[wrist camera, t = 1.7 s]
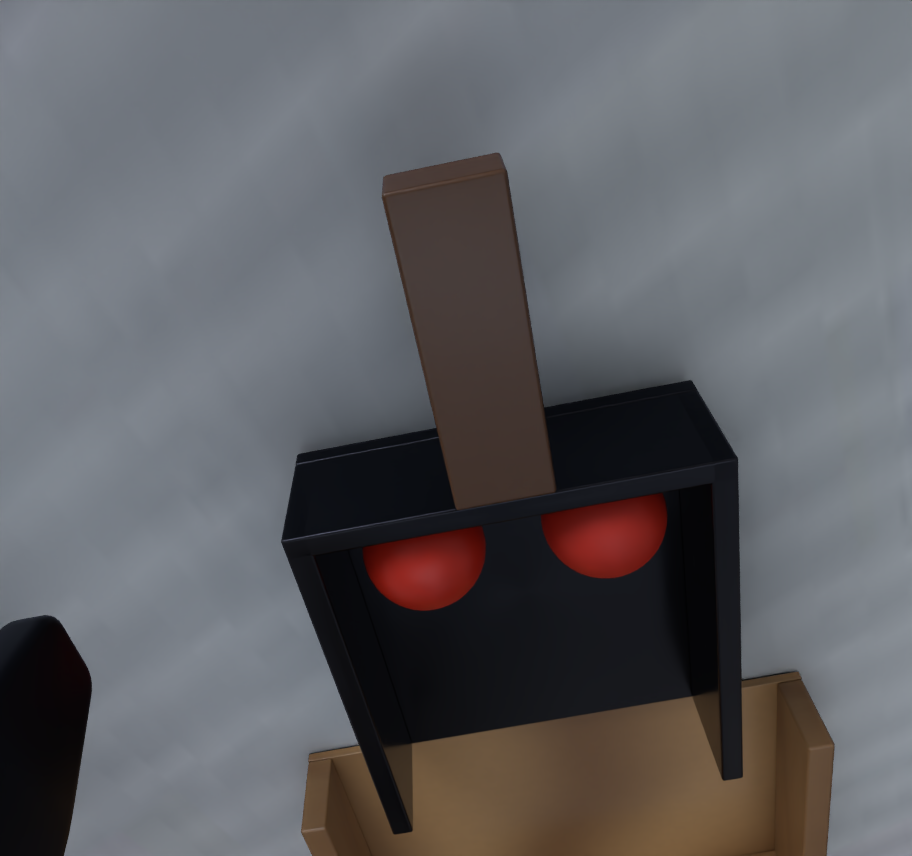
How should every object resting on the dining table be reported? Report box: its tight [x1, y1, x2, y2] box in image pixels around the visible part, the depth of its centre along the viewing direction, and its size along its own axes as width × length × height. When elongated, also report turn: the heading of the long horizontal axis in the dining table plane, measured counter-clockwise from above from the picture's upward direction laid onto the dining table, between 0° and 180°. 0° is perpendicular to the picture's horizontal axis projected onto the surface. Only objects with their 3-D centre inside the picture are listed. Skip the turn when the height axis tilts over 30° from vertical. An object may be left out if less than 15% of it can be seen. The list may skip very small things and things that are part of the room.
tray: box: [301, 672, 834, 856], centre depth 29 cm, size 16×10×3 cm, turn 101°
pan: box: [281, 153, 743, 835], centre depth 21 cm, size 18×10×4 cm, turn 11°
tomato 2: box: [541, 493, 667, 578], centre depth 21 cm, size 3×3×3 cm
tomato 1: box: [362, 526, 486, 611], centre depth 21 cm, size 3×3×3 cm
